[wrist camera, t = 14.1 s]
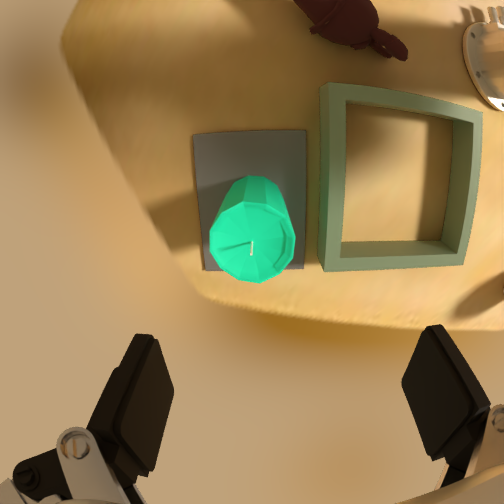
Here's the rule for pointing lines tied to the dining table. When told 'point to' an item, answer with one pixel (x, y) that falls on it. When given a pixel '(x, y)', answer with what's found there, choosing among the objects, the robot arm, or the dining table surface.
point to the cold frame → (333, 183)
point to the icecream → (352, 25)
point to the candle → (252, 231)
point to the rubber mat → (254, 164)
